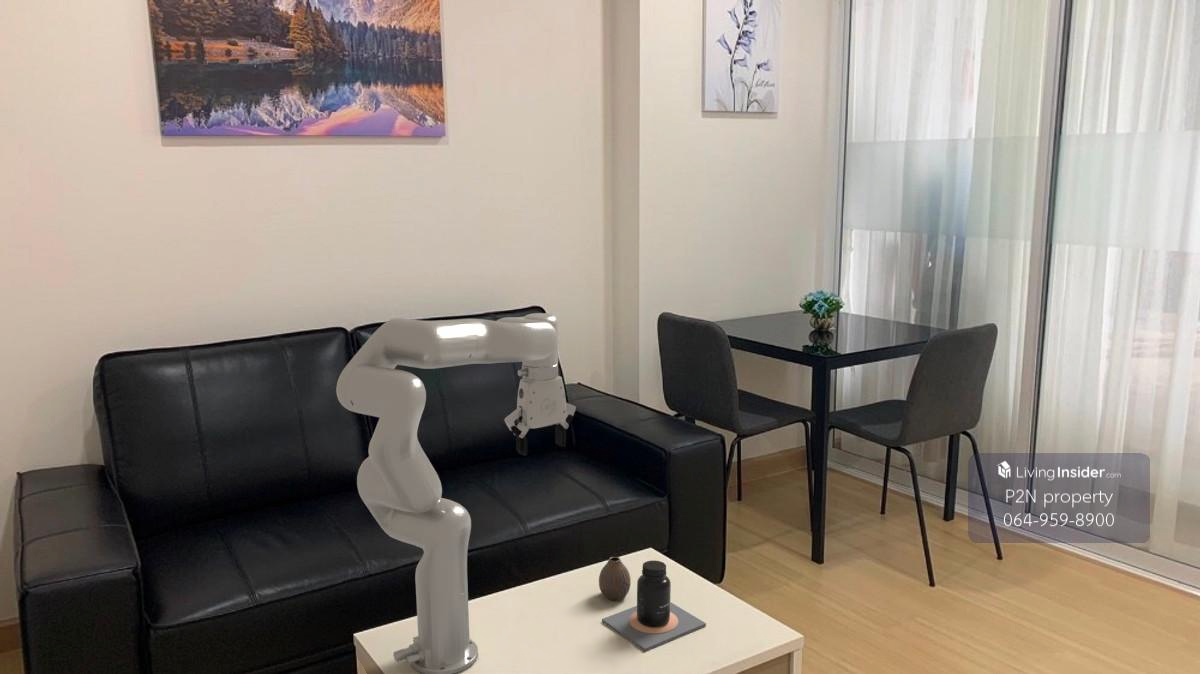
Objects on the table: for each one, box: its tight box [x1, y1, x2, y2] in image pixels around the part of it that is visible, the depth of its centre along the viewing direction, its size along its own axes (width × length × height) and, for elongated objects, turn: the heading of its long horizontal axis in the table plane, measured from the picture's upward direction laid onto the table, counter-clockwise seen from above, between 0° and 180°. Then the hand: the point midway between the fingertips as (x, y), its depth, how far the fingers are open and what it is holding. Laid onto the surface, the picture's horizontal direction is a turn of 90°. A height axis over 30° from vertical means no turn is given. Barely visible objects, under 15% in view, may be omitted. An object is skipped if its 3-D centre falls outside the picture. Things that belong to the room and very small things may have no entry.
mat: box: [601, 601, 707, 652], centre depth 175 cm, size 16×14×1 cm
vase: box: [598, 556, 632, 602], centre depth 185 cm, size 7×7×9 cm
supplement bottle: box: [636, 560, 672, 627], centre depth 173 cm, size 7×7×12 cm
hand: (541, 449), depth 183 cm, fingers open, 9 cm apart
